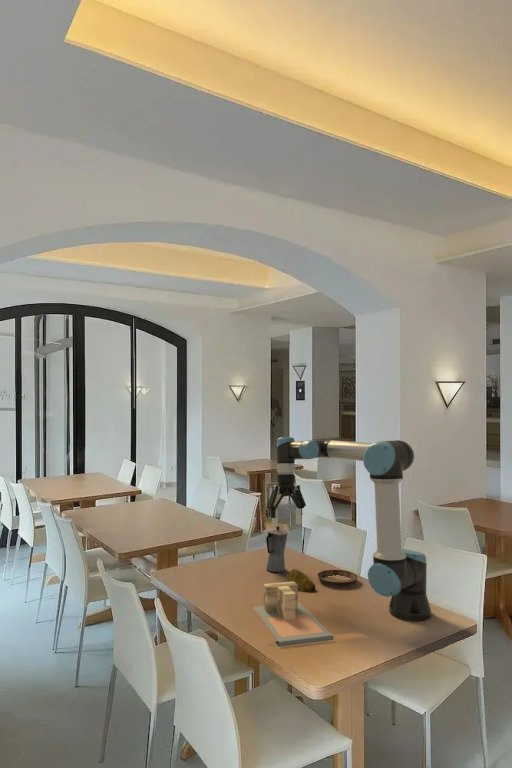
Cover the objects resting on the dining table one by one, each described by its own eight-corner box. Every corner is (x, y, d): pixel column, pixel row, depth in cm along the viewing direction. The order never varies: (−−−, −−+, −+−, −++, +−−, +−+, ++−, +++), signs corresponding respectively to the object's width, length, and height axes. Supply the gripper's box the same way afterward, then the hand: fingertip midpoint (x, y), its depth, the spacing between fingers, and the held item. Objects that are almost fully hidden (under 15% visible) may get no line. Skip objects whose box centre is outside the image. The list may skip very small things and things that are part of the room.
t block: (263, 608, 198) (263, 584, 199) (293, 605, 202) (294, 581, 202) (273, 621, 187) (274, 595, 187) (305, 617, 190) (305, 592, 191)
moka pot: (292, 567, 253) (293, 525, 254) (276, 576, 240) (276, 531, 241) (275, 564, 258) (275, 522, 259) (258, 572, 245) (258, 528, 246)
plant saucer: (310, 578, 239) (310, 571, 240) (344, 574, 246) (344, 567, 246) (329, 591, 223) (329, 583, 223) (365, 586, 229) (365, 579, 229)
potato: (300, 597, 214) (301, 577, 215) (283, 587, 226) (284, 568, 226) (317, 594, 218) (317, 574, 219) (300, 584, 230) (300, 565, 230)
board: (252, 611, 200) (252, 607, 200) (299, 606, 205) (299, 602, 205) (278, 646, 171) (278, 641, 171) (333, 639, 177) (333, 635, 177)
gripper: (301, 473, 238) (302, 522, 235) (258, 474, 222) (258, 526, 219) (313, 473, 232) (314, 523, 229) (269, 473, 217) (270, 527, 213)
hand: (287, 525), depth 224 cm, fingers open, 13 cm apart
